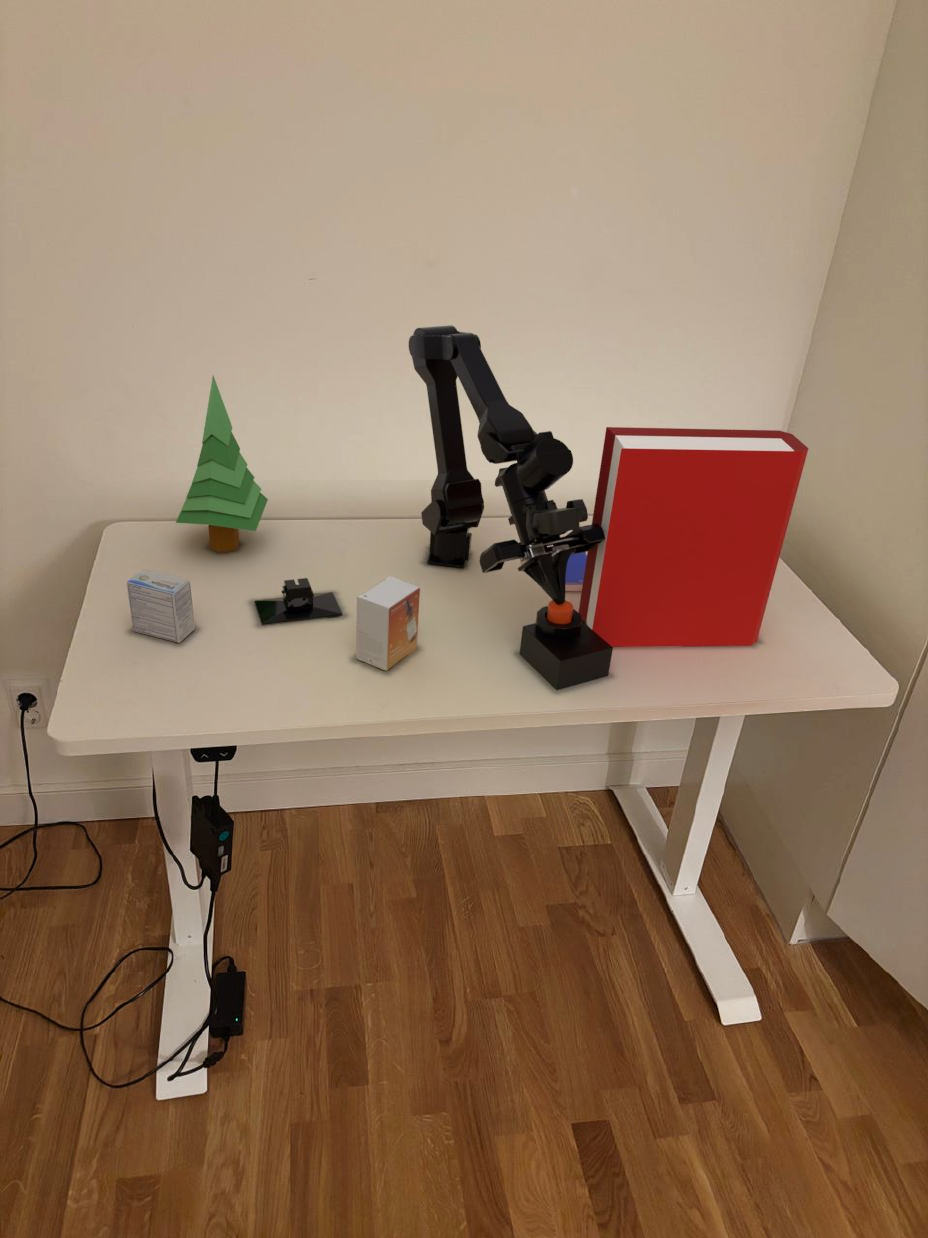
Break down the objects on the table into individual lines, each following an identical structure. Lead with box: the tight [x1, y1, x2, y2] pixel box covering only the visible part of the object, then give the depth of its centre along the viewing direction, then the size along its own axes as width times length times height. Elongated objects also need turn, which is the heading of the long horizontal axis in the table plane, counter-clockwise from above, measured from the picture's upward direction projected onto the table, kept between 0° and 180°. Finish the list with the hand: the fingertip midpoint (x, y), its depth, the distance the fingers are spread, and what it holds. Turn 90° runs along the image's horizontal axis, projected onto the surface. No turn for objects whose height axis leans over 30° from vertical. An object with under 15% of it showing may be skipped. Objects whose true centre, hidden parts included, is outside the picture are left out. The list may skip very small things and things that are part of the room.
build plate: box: [253, 577, 343, 626], centre depth 149 cm, size 12×7×5 cm, turn 109°
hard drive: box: [565, 552, 587, 592], centre depth 166 cm, size 2×8×12 cm
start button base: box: [519, 605, 614, 691], centre depth 140 cm, size 11×9×7 cm
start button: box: [547, 599, 574, 624], centre depth 139 cm, size 4×4×2 cm
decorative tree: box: [175, 375, 269, 554], centre depth 158 cm, size 14×16×30 cm
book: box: [577, 426, 809, 648], centre depth 143 cm, size 27×8×32 cm, turn 97°
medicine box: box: [126, 568, 196, 644], centre depth 140 cm, size 8×4×9 cm, turn 71°
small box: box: [355, 575, 421, 672], centre depth 138 cm, size 8×6×10 cm
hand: (561, 603), depth 139 cm, fingers closed, pressing on start button
